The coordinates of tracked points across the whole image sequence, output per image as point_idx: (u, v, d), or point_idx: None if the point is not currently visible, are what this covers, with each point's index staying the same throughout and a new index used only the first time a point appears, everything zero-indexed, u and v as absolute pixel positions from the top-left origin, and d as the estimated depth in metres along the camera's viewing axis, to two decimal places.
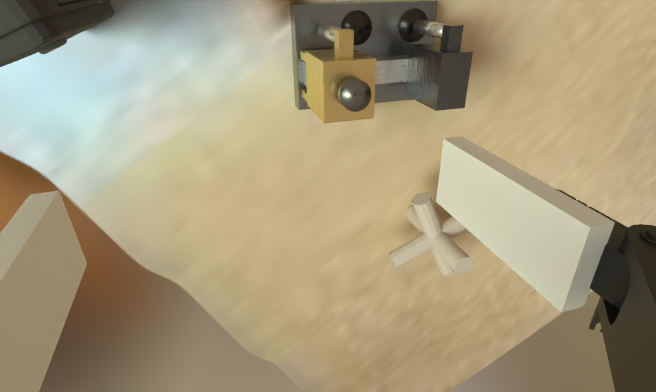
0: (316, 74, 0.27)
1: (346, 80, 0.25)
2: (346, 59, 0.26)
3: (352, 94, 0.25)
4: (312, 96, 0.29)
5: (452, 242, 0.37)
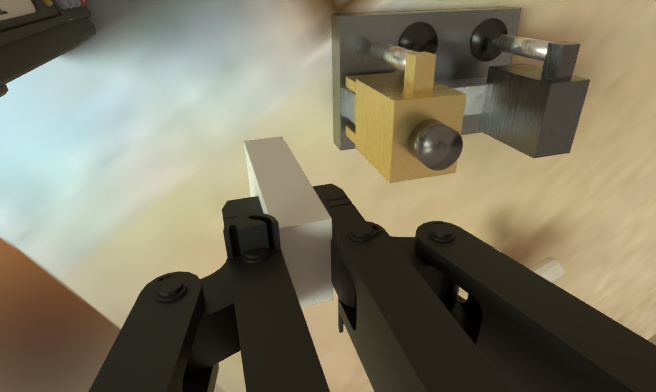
0: (378, 114, 0.20)
1: (427, 127, 0.18)
2: (424, 96, 0.18)
3: (437, 147, 0.18)
4: (366, 140, 0.22)
5: None
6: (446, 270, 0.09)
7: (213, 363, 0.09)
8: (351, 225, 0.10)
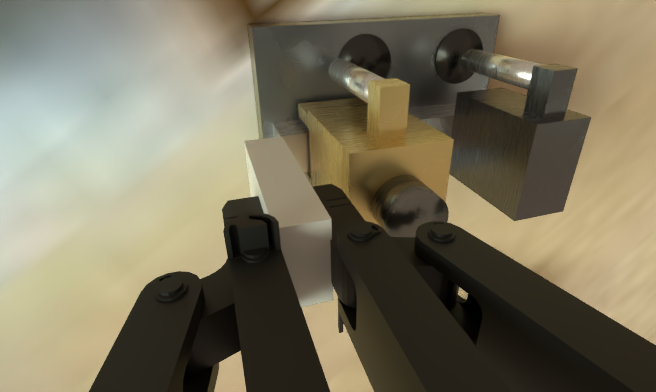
0: (332, 164, 0.14)
1: (397, 189, 0.12)
2: (394, 142, 0.13)
3: (411, 220, 0.12)
4: None
5: None
6: (446, 270, 0.09)
7: (214, 363, 0.09)
8: (351, 225, 0.10)
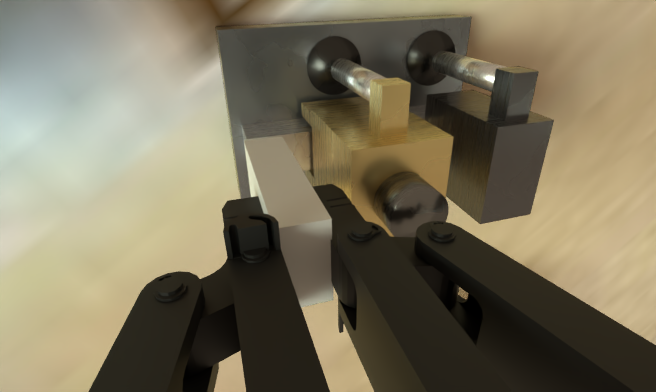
0: (334, 162, 0.14)
1: (398, 185, 0.13)
2: (396, 140, 0.13)
3: (412, 215, 0.12)
4: None
5: None
6: (446, 270, 0.09)
7: (213, 363, 0.09)
8: (351, 225, 0.10)
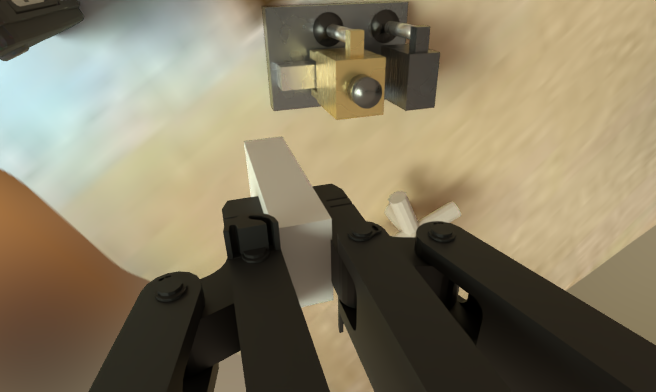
0: (328, 73, 0.28)
1: (358, 78, 0.27)
2: (357, 58, 0.27)
3: (364, 92, 0.26)
4: (323, 94, 0.30)
5: None
6: (446, 270, 0.09)
7: (213, 363, 0.09)
8: (351, 225, 0.10)
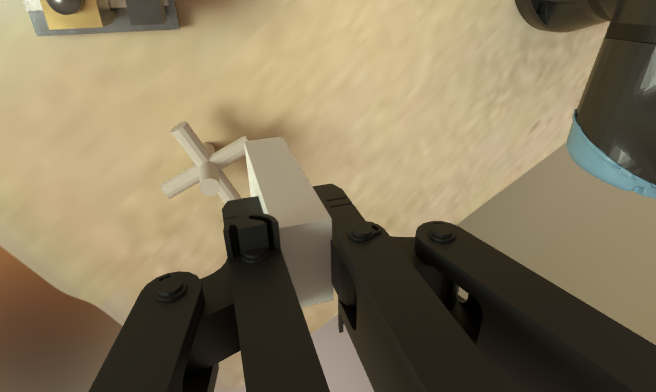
0: None
1: None
2: None
3: None
4: None
5: (209, 168, 0.39)
6: (446, 270, 0.09)
7: (214, 363, 0.09)
8: (351, 225, 0.10)
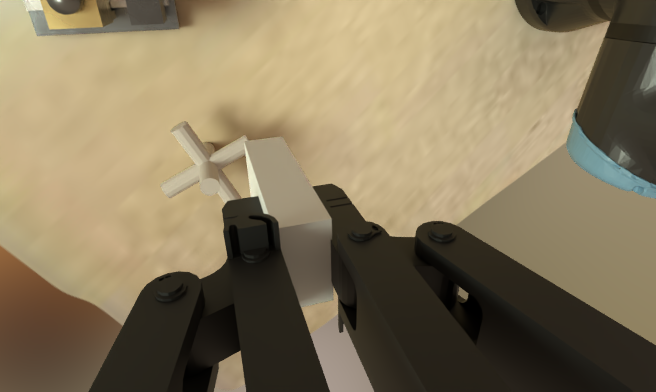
0: None
1: None
2: None
3: None
4: None
5: (209, 168, 0.39)
6: (446, 270, 0.09)
7: (213, 363, 0.09)
8: (351, 225, 0.10)
